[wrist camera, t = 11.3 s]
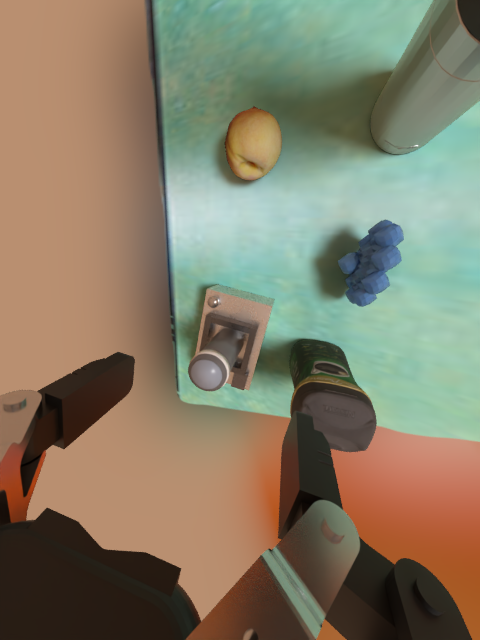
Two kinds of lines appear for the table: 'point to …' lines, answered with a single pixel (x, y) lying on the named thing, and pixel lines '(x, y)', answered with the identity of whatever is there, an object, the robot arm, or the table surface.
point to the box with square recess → (236, 326)
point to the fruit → (253, 143)
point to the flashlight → (216, 360)
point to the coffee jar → (331, 396)
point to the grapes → (372, 262)
